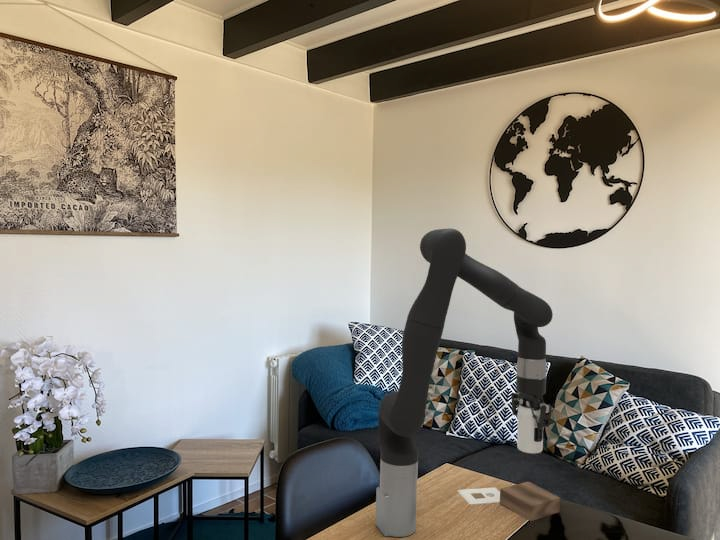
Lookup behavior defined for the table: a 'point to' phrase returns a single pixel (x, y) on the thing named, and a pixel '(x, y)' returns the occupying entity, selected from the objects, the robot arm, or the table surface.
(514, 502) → the base block
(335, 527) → the table surface
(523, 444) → the can
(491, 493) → the page
